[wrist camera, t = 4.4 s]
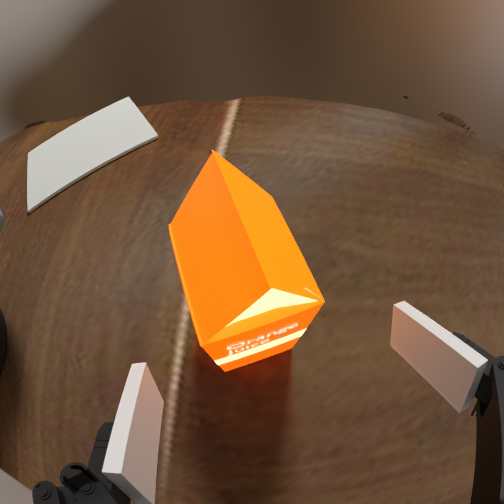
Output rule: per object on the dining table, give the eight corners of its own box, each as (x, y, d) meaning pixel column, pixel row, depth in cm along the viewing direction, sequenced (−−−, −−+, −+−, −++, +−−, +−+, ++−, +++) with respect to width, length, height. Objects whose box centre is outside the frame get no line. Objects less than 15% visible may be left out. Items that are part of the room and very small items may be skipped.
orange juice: (223, 372, 28) (174, 320, 10) (199, 298, 32) (144, 167, 14) (293, 348, 29) (357, 258, 12) (264, 277, 33) (276, 133, 16)
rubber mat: (29, 213, 39) (27, 211, 38) (29, 154, 48) (28, 153, 47) (158, 137, 46) (158, 135, 46) (129, 98, 55) (128, 96, 55)
